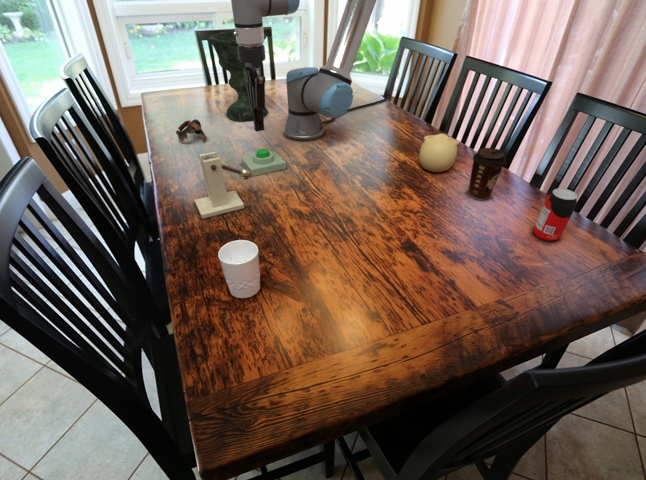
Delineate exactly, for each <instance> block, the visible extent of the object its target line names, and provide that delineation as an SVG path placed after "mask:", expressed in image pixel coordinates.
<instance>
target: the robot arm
mask: <svg viewBox="0 0 646 480" xmlns="http://www.w3.org/2000/svg"><path fill="white" fill-rule="evenodd" d="M300 2H301V1H300V0H230V3H231V10H232V18H233V23H234V31H235V32H233V33H234V35H235V36H236V41H237V43H238V44H239V45H238V47H237V51H238V58H239V60H240V61H241V62H244V63H245V66H246V68H243V72H244V76H245V81H246V86H247V92H248V98H249V103H250V104H251V107H252V111H253V119H254V120H253V127H254V131H255V132H256V133H257V132H262V131H265V121H264V116H263V109H265V107H266V76H265V75H263V69H262V67H261V65H260V62H261V61H262V62H264V61H266V47H265V45H264V43H265V40H264V32H265V31H264V25H263V18H266V17H274V16H276V17H277V16H288V15H291V14H294V13H296V12H297V11H298V9H299V7H300V4H301V3H300ZM376 4H377V0H346V4H345V7H344V10H343V14H342V16H341V19H340V22H339V24H338V27H337V30H336V33H335V37H334V39H333V42H332V46H331V49H330V51H329V54H328V58H327V61H326V63H325V64H324V65H322V66H320V67H319V68H318V67H310V66H309V67H307V66H306V67H298V68H294V69H290V70H289V71H287V73H286V76H285V77H286V79H285V85H286V95H287V110H288V114H287V118H286V123H285V127H284V135H285V137H286V138H288V139H290V140H294V141H300V142H302V141H314V140H317V139H320V138H321V137H323V136H324V133H325V127H324V124H329V123H331V122H333V121H334V120H336V119H338V118H340V117H342V116H344V115H345V114H347V113H348V112H350V111H353V110H357V109H361V108H366V107H370V106H374V105H378V104H380V103H383V102H385V101H387V100H388V99H389V98H390V97H391V93H387V95H386V97H385V98H383V99H380V100H377V101H373V102H370V103H365V104H363V105H357V106H353V107H351V106H352V104H353V99H354V95H353V93H354V91H353V88H352V83H353V79H352V77H351V73H352V69H353V66H354V64H355V61H356V58H357V55H358V52H359V50H360V47H361V45H362V42H363V39H364V36H365V33H366V31H367V28H368V25H369V22H370V20H371V17H372V14H373V11H374V9H375V5H376ZM262 43H263V44H262ZM262 62H261V63H262ZM321 116H323V117H325V118H330V119H328V120H322V118H321Z"/></svg>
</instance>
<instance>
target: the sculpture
mask: <svg viewBox="0 0 646 480" xmlns="http://www.w3.org/2000/svg"><path fill="white" fill-rule="evenodd" d="M459 145H460V141H458V140H457V139H456V138H455V139H454V138H453V137H450V136H448V135H447V134H446V133H438V134H432V135H431V134H430V135H425V136H423V142H422V144H421V146H420V150H419V153H418V160H419V164H420V166H421V167H422V168H423V169H424V170H425V171H429V172H431V173H442V172H445V171H448V170H449V169H450V168H452V166H453V165H454V163H455V161H456V158H457V156H458V146H459Z"/></svg>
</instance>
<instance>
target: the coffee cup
mask: <svg viewBox="0 0 646 480" xmlns="http://www.w3.org/2000/svg"><path fill="white" fill-rule="evenodd" d="M472 158H473V162H472V168H471V172H470V179H469V183H468V191H467V196H468V197H470V198H472V199H475V200H478V201H479V200H480V201H484V200H488V199H489V198H490V197H491V195H492V193H493V190H494V189H495V187H496V184H497V182H498V180H499V178H500V176H501V173H502V170H503V166H505V165H506V163H507V161H508V160H507V158H506V155H505V153H504V152H503V150H500V149H499V148H494V147H493V148H492V147H482V148H480V149H478V150H477V152H476V153H474V155H473V156H472Z"/></svg>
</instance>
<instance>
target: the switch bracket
mask: <svg viewBox="0 0 646 480" xmlns="http://www.w3.org/2000/svg"><path fill="white" fill-rule="evenodd" d="M217 155H218V154H217V151H211V152H205V153H201V154H198V157H199V162H200V165H201V170H202V174H203V175H202V176H203V179H204V183H205V189H206V192H207V196H205V197H200V198H196V199H194V204H195V206H196V208H197V211H198V213H199V215H200V218H201V219H202V220H203V219H207V218H211V217H215V216H218V215H219V216H220V215H222V214H227V213H231V212H234V211H235V212H236V211H238V210H242V209H243V210H244V209H246V208H245V207H246V206H245V204H244V202H243V201H242V199H241V197H240V196H239V194H238V193H237V191H236V190H230V191H227V187H226V182H225V177H224V171H223V170H224V169H222V165H221V164H222V160H221V158H220V157H219V156H217ZM206 156H209V157H212V158H213V159H208V160H205V158H206Z"/></svg>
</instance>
